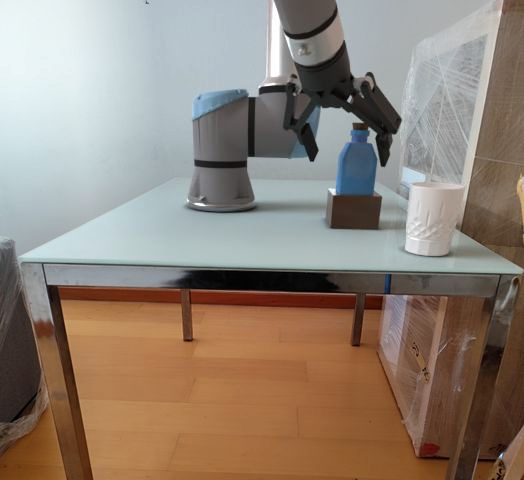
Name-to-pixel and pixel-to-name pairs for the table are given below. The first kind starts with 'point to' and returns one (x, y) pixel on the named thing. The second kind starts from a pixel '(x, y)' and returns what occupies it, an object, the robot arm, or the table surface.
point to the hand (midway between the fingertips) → (348, 158)
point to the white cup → (432, 217)
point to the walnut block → (353, 210)
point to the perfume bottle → (357, 164)
